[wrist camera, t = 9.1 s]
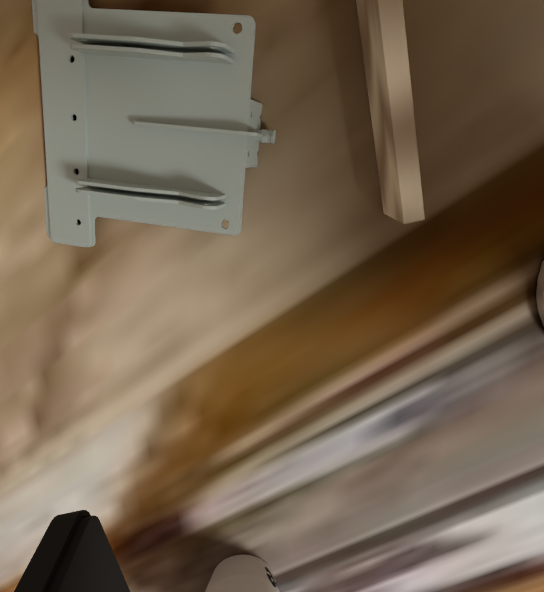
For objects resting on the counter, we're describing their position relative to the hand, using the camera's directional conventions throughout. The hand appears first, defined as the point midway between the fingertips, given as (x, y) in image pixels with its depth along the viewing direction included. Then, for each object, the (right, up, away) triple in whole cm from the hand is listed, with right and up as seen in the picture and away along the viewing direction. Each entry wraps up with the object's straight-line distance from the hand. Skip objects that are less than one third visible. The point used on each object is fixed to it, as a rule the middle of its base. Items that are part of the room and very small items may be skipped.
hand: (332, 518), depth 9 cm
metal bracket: (-8, +15, +19) cm, 25 cm away
